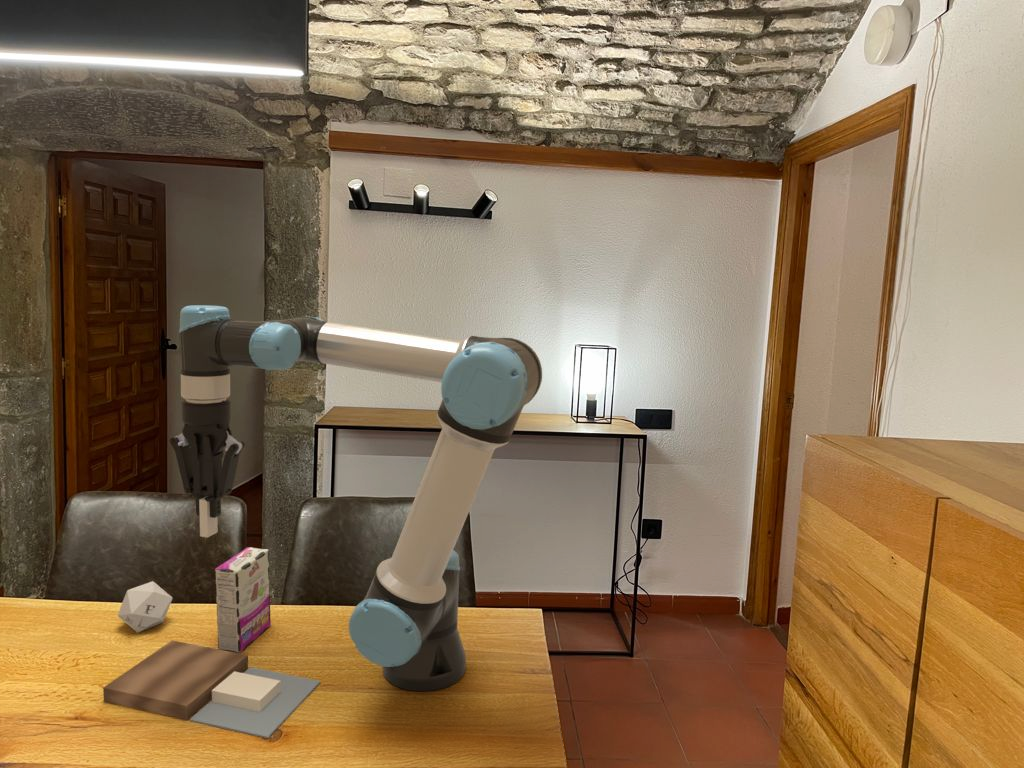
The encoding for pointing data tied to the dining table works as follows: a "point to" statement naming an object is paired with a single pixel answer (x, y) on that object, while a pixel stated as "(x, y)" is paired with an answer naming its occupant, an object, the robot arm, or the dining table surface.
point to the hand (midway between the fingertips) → (208, 534)
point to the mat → (269, 716)
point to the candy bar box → (242, 599)
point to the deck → (174, 679)
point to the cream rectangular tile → (246, 691)
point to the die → (144, 606)
